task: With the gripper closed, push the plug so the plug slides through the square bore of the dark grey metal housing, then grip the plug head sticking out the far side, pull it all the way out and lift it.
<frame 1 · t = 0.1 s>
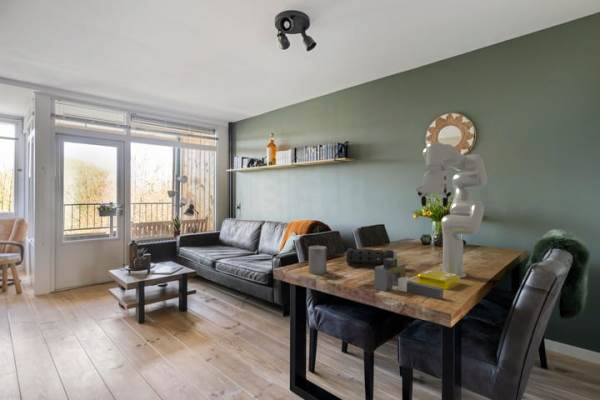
hand: (434, 206, 144), 37 cm above the table, tool pointing down, fingers open, 9 cm apart
pillar candle: (317, 272, 166), on the table
muzzle brake: (371, 267, 180), on the table
element tile: (438, 284, 147), on the table
housing: (390, 286, 141), on the table
plug: (419, 293, 131), on the table
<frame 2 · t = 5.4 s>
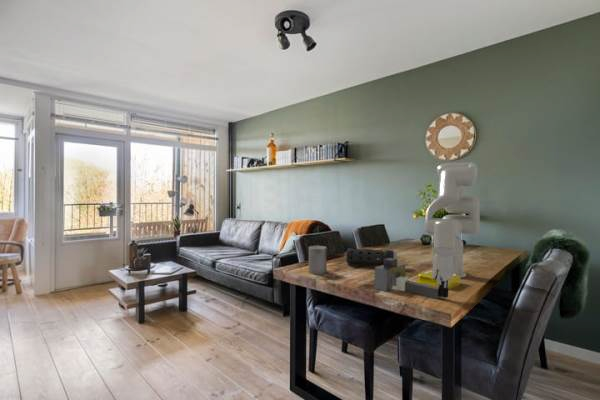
hand: (443, 296, 124), 1 cm above the table, tool pointing down, fingers closed
plug: (417, 293, 132), on the table, touching gripper
everything else where it was.
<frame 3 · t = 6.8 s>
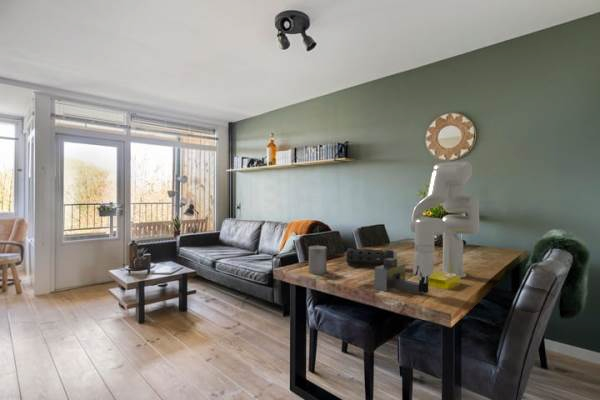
hand: (423, 291, 130), 1 cm above the table, tool pointing down, fingers closed
plug: (400, 288, 137), on the table, touching gripper
everything else where it was.
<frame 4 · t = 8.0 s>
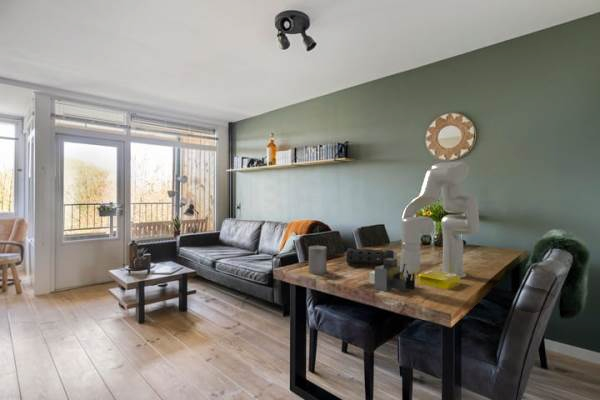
hand: (410, 288, 134), 1 cm above the table, tool pointing down, fingers closed
plug: (388, 286, 142), on the table, touching gripper
everything else where it was.
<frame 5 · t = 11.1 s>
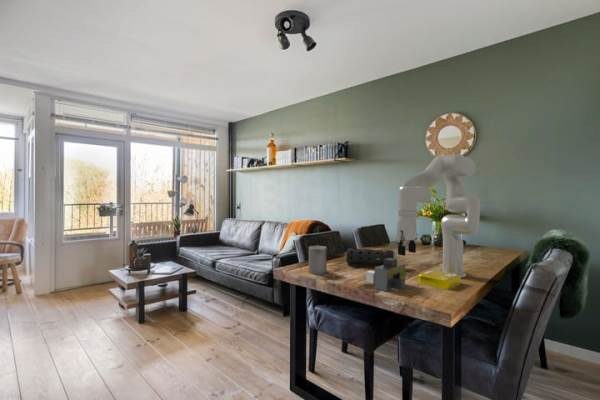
hand: (406, 253, 135), 16 cm above the table, tool pointing down, fingers open, 9 cm apart
plug: (385, 285, 143), on the table
everything else where it was.
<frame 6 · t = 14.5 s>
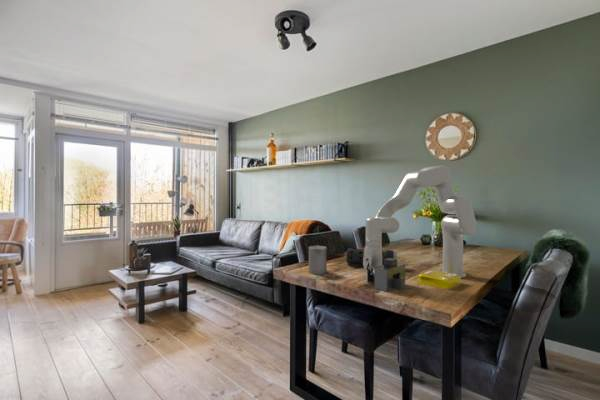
hand: (373, 281, 148), 1 cm above the table, tool pointing down, fingers closed on plug, 4 cm apart
plug: (385, 285, 143), on the table, touching gripper
everything else where it was.
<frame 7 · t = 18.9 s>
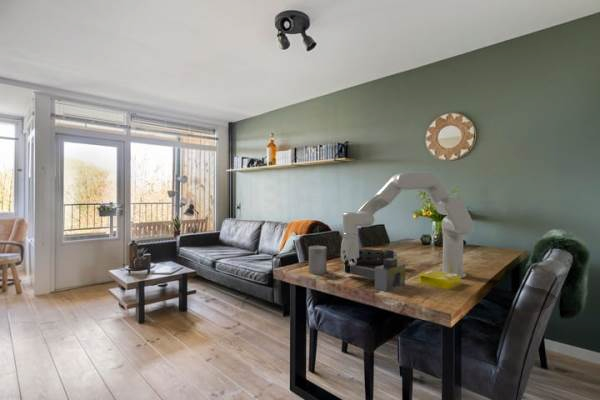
hand: (350, 271, 158), 3 cm above the table, tool pointing down, fingers closed on plug, 4 cm apart
plug: (361, 275, 153), point 2 cm above the table, touching gripper
everything else where it was.
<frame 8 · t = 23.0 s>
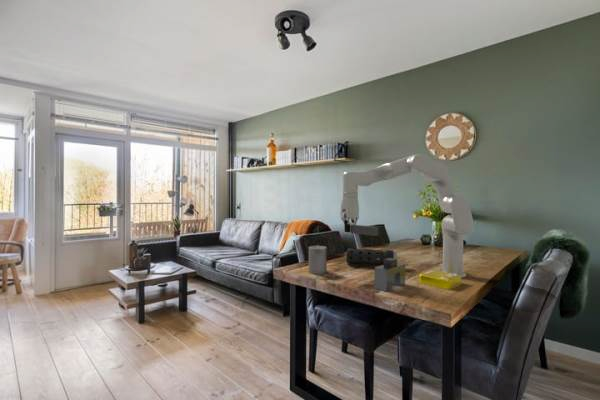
hand: (350, 231, 157), 23 cm above the table, tool pointing down, fingers closed on plug, 4 cm apart
plug: (360, 233, 153), point 23 cm above the table, touching gripper
everything else where it was.
at the end: plug inside the target area (0.5 cm from its centre), point 22.6 cm above the table; plug touching gripper; the gripper is holding plug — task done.
